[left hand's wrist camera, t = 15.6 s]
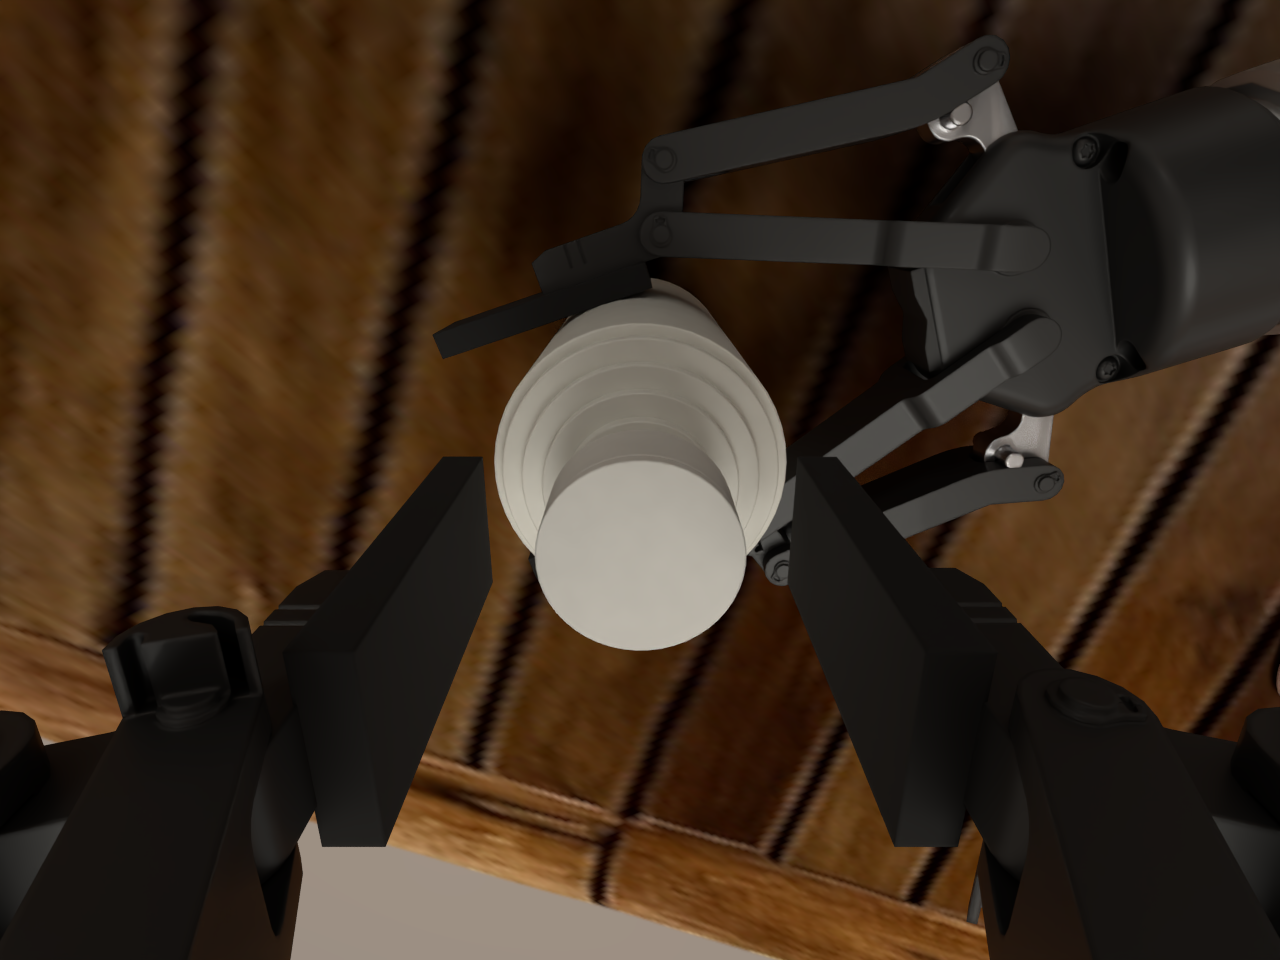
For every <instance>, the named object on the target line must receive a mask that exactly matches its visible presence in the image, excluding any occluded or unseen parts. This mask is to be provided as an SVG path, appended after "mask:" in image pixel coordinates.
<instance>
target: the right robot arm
mask: <svg viewBox="0 0 1280 960" xmlns="http://www.w3.org/2000/svg"><path fill="white" fill-rule="evenodd" d="M1009 60H1010V54H1009V48H1008V46H1007V45H1006V43H1005V42H1004V40H1003V39H1001V38H999V37H998V36H996V35H985V36H983V37H980V38H978V39H976V40H974V41H972V42H970V43H968V44H967V45H965V46H963V47H961V48H959V49H957V50H955V51H953V52H952V53H950V54H948V55H946V56H944V57H942V58H940V59H939V60H937V61H936V62H934V63H932V64H931V65H929V66H928V67H926V68H925V69H923V70H922V71H920V72H919V73H917V74H915V75H914V76H912V77H911V78H909V79H908V80H903V81H899V82H894V83H890V84H886V85H881V86H877V87H872V88H868V89H864V90H859V91H855V92H850V93H846V94H841V95H837V96H833V97H828V98H824V99H819V100H815V101H810V102H806V103H802V104H797V105H793V106H788V107H784V108H779V109H775V110H771V111H766V112H762V113H757V114H753V115H749V116H744V117H740V118H735V119H731V120H726V121H722V122H718V123H713V124H709V125H704V126H700V127H695V128H691V129H687V130H682V131H678V132H673V133H669V134H665V135H660V136H658V137H656V138H653V139H651V141H650V142H649V143H648V144H647V145H646V146H645V149H644V152H643V154H642V169H641V198H640V204H639V206H638V209H637V211H636V212H635V214H634V215H633V217H631V218H630V219H629V220H628V221H626V222H624V223H622V224H620V225H617V226H614V227H611V228H608V229H606V230H603V231H600V232H597V233H594V234H591V235H589V236H586V237H583V238H580V239H577V240H574V241H571V242H569V243H566V244H563V245H560V246H557V247H554V248H552V249H549V250H546V251H544V252H543V253H542V254H541V255H540V256H539V257H538V258H537V259H536V260H535V261H534V262H532V265H533V268H534V271H535V274H536V276H537V279H538V282H539V284H540V287H541V290H542V292H541V293H538V294H535V295H532V296H529V297H526V298H524V299H521V300H518V301H515V302H512V303H509V304H506V305H503V306H500V307H497V308H494V309H492V310H489V311H486V312H483V313H480V314H477V315H474V316H471V317H468V318H465V319H463V320H460V321H457V322H454V323H453V324H451V325H449V326H447V327H445V328H444V329H442V330H440V331H438V332H437V333H435V334H433V337H434V339H435V342H436V344H437V346H438V349H439V351H440V353H441V356H442V358H443V359H445V358H448V357H451V356H454V355H457V354H459V353H462V352H465V351H468V350H471V349H474V348H477V347H480V346H483V345H486V344H489V343H492V342H495V341H498V340H501V339H504V338H507V337H510V336H513V335H516V334H519V333H521V332H524V331H527V330H530V329H533V328H536V327H539V326H542V325H545V324H548V323H551V322H554V321H557V320H560V319H563V318H566V317H569V316H572V315H575V314H578V313H580V312H583V311H586V310H589V309H592V308H595V307H598V306H601V305H603V304H607V303H610V302H613V301H616V300H619V299H622V298H625V297H628V296H631V295H634V294H637V293H639V292H642V291H645V290H648V289H651V288H652V282H651V278H650V275H649V272H648V269H647V265H646V262H647V261H650V260H653V259H655V258H658V257H680V258H706V259H731V260H757V261H782V262H807V263H833V264H858V265H879V266H888V271H889V276H890V281H891V286H892V291H893V292H894V294H895V296H896V298H897V300H898V302H899V304H900V306H901V308H902V310H903V314H904V315H903V329H902V341H903V346H904V351H905V357H903V358H902V359H901V360H899V361H898V362H896V363H895V364H894V365H892V366H891V367H890V368H888V369H887V370H886V371H885V372H884V373H883V374H882V375H881V377H880V379H879V381H878V382H877V383H876V384H875V385H874V386H872V387H871V388H869V389H868V390H867V391H865V392H864V393H863V394H861V395H860V396H858V397H857V398H856V399H854V400H853V401H851V402H850V403H849V404H847V405H846V406H845V407H843V408H842V409H840V410H839V411H838V412H836V413H835V414H833V415H832V416H831V417H829V418H828V419H826V420H825V421H824V422H822V423H821V424H820V425H818V426H817V427H815V428H814V429H813V430H811V431H810V432H808V433H807V434H806V435H804V436H803V437H802V438H800V439H799V440H797V441H796V442H795V443H793V444H792V445H790V446H789V447H788V448H786V461H787V463H786V475H785V483H784V487H783V492H782V496H781V500H780V502H779V505H778V508H777V510H776V513H775V515H774V517H773V519H772V521H771V523H770V525H769V527H768V529H767V530H766V532H765V533H764V535H763V536H762V537H761V539H760V540H759V542H758V543H757V545H756V546H755V547H754V548H753V549H752V550H751V551H750V552H749V553H748V554H747V555H749V556H752V557H753V558H754V559H755V560H756V562H757V563H758V564H759V565H760V566H761V568H762V569H763V570H764V572H765V575H766V577H767V578H768V580H769V581H770V582H771V583H773V584H775V585H780V586H784V585H788V582H787V581H788V568H789V556H790V544H791V531H792V519H793V507H794V494H795V482H796V470H797V457H837V458H838V459H839V460H840V461H841V463H842V464H843V465H844V466H845V467H846V469H847V470H848V471H849V472H850V473H851V475H852V476H853V477H855V476H857V475H858V474H860V473H861V472H862V471H864V470H865V469H867V468H868V467H870V466H871V465H873V464H874V463H875V462H877V461H878V460H880V459H881V458H883V457H884V456H886V455H887V454H888V453H890V452H891V451H893V450H894V449H896V448H897V447H898V446H900V445H901V444H903V443H904V442H906V441H907V440H909V439H910V438H911V437H913V436H914V435H916V434H917V433H919V432H920V431H922V430H924V429H927V428H935V427H938V426H940V425H942V424H944V423H946V422H948V421H949V420H950V419H952V418H953V417H955V416H956V415H958V414H959V413H961V412H962V411H964V410H965V409H966V408H968V407H969V406H971V405H972V404H974V403H975V402H977V401H978V400H980V401H983V402H987V403H990V404H993V405H996V406H999V407H1002V408H1005V409H1008V414H1007V416H1006V418H1005V420H1004V421H1003V422H1002V423H1001V424H1000V425H998V426H996V427H994V428H991V429H989V430H986V431H983V432H979V433H977V434H976V435H975V436H974V438H973V446H965V447H960V448H956V449H951V450H948V451H945V452H942V453H939V454H936V455H934V456H931V457H929V458H926V459H924V460H922V461H919V462H917V463H914V464H912V465H910V466H907V467H905V468H902V469H900V470H897V471H895V472H893V473H890V474H888V475H885V476H883V477H881V478H878V479H876V480H873V481H871V482H868V483H866V484H864V485H861V487H862V488H863V489H864V490H865V492H866V493H867V494H868V495H869V496H870V498H871V499H872V500H873V501H874V503H875V504H876V505H877V506H878V507H879V509H880V510H881V511H882V512H883V513H884V515H885V516H886V517H887V518H888V519H889V521H890V522H891V523H892V524H893V526H894V527H895V528H896V529H897V530H898V532H899V533H900V534H901V535H902V536H903V538H904V539H905V538H907V537H910V536H912V535H915V534H917V533H920V532H922V531H925V530H927V529H930V528H932V527H935V526H937V525H940V524H942V523H945V522H948V521H950V520H953V519H955V518H958V517H960V516H963V515H965V514H968V513H970V512H973V511H975V510H978V509H980V508H983V507H985V506H988V505H991V504H1004V503H1016V502H1029V501H1042V500H1046V499H1050V498H1052V497H1053V496H1055V495H1057V493H1058V492H1059V491H1060V490H1061V489H1062V486H1063V483H1064V475H1063V473H1062V472H1061V470H1060V469H1059V468H1057V467H1055V466H1054V465H1052V464H1050V463H1049V462H1048V457H1049V449H1050V441H1051V432H1052V424H1053V416H1054V415H1055V414H1057V413H1059V412H1061V411H1063V410H1065V409H1066V408H1068V407H1069V406H1070V405H1071V404H1072V403H1074V402H1075V401H1076V400H1077V399H1078V398H1079V397H1081V396H1082V395H1083V394H1085V393H1086V392H1088V391H1089V390H1091V389H1093V388H1095V387H1097V386H1099V385H1102V384H1106V383H1110V382H1115V381H1120V380H1124V379H1129V378H1133V377H1137V376H1141V375H1145V374H1148V373H1151V372H1154V371H1158V370H1161V369H1164V368H1168V367H1171V366H1174V365H1178V364H1181V363H1184V362H1187V361H1191V360H1194V359H1197V358H1201V357H1204V356H1207V355H1211V354H1214V353H1217V352H1220V351H1224V350H1227V349H1230V348H1234V347H1237V346H1240V345H1243V344H1246V343H1249V342H1252V341H1254V340H1256V339H1258V338H1260V337H1262V336H1263V335H1271V334H1280V59H1277V60H1274V61H1271V62H1268V63H1265V64H1262V65H1259V66H1256V67H1253V68H1250V69H1247V70H1244V71H1242V72H1239V73H1236V74H1234V75H1231V76H1229V77H1226V78H1224V79H1221V80H1219V81H1217V82H1215V83H1214V84H1213V85H1211V86H1204V87H1197V88H1192V89H1189V90H1186V91H1183V92H1180V93H1177V94H1174V95H1171V96H1168V97H1165V98H1162V99H1159V100H1156V101H1153V102H1150V103H1147V104H1145V105H1142V106H1139V107H1136V108H1133V109H1130V110H1127V111H1124V112H1121V113H1118V114H1115V115H1112V116H1109V117H1106V118H1103V119H1101V120H1098V121H1095V122H1092V123H1089V124H1086V125H1083V126H1080V127H1077V128H1074V129H1071V130H1068V131H1065V132H1062V133H1059V134H1044V133H1040V132H1036V131H1031V130H1019V131H1018V130H1017V127H1016V125H1015V122H1014V119H1013V117H1012V114H1011V112H1010V109H1009V106H1008V104H1007V101H1006V99H1005V96H1004V94H1003V91H1002V88H1001V86H1000V83H999V80H1000V79H1001V78H1002V77H1003V76H1004V74H1005V72H1006V70H1007V68H1008V65H1009ZM913 128H916V129H917V131H918V133H919V135H920V137H921V138H922V139H923V140H924V141H925V142H927V143H930V144H940V143H944V142H948V141H959V142H962V143H963V144H964V145H965V146H967V148H968V150H969V151H970V154H969V155H968V156H967V157H966V159H965V160H964V161H963V162H962V164H961V165H960V166H959V167H958V169H957V170H956V171H955V172H954V173H953V175H952V176H951V177H950V178H949V180H948V181H947V182H946V183H945V185H944V186H943V187H942V188H941V190H940V191H939V192H938V193H937V195H936V196H935V197H934V198H933V200H932V201H931V202H930V203H929V205H928V206H927V207H926V208H925V209H924V211H923V212H922V213H921V214H920V216H919V217H918V218H917V219H916V221H891V220H864V219H839V218H814V217H789V216H764V215H739V214H714V213H689V212H683V193H684V183H685V182H689V181H694V180H698V179H703V178H707V177H712V176H716V175H721V174H725V173H730V172H734V171H739V170H744V169H748V168H753V167H757V166H762V165H766V164H771V163H775V162H780V161H784V160H789V159H793V158H798V157H802V156H807V155H811V154H816V153H820V152H825V151H830V150H834V149H839V148H843V147H848V146H852V145H857V144H861V143H866V142H870V141H875V140H878V139H882V138H885V137H889V136H892V135H895V134H898V133H901V132H904V131H907V130H910V129H913ZM529 562H530V564H531V566H532V569H533V571H534V573H535V576H536V578H538V576H537V571H536V565H535V556H534V554H533V553H532V552H531V553H530V556H529Z"/></svg>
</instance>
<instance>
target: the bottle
mask: <svg viewBox="0 0 1280 960" xmlns="http://www.w3.org/2000/svg"><path fill="white" fill-rule="evenodd" d="M651 282H652V288H651V289H648V290H645V291H642V292H639V293H637V294H634V295H631V296H628V297H625V298H622V299H619V300H616V301H613V302H610V303H607V304H603V305H601V306H598V307H595V308H592V309H589V310H586V311H583V312H580V313H578V314H575V315H572V316H569V317H568V318H567V319H566V321H565V322H564V323H563V325H562V326H561V327H560V329H559V330H558V332H557V333H556V334H555V336H554V337H553V338H552V340H551V341H550V343H549V344H548V345H547V347H546V348H545V349H544V351H543V352H542V354H541V355H540V356H539V358H538V359H537V360H536V362H535V363H534V365H533V366H532V367H531V369H530V370H529V371H528V373H527V374H526V376H525V377H524V378H523V380H522V381H521V382H520V384H519V385H518V387H517V388H516V389H515V391H514V393H513V395H512V396H511V398H510V400H509V402H508V404H507V406H506V408H505V411H504V414H503V416H502V419H501V422H500V425H499V429H498V434H497V439H496V445H495V459H494V462H495V476H496V483H497V487H498V492H499V497H500V499H501V502H502V505H503V508H504V511H505V513H506V515H507V517H508V519H509V521H510V523H511V525H512V527H513V529H514V530H515V532H516V533H517V535H518V536H519V538H520V539H521V540H522V542H523V543H524V544H525V546H526V547H527V548H528V549H529V550H530V551H531V552H532V553H533V554H534V556H535V544H536V539H537V534H538V530H539V527H540V524H541V520H542V517H543V514H544V511H545V508H546V505H547V502H548V499H549V496H550V493H551V490H552V488H553V485H554V482H555V480H556V478H557V477H558V475H559V473H560V471H561V470H562V469H563V467H564V466H565V464H566V463H567V462H568V461H569V460H570V459H571V458H572V457H573V456H574V455H575V454H576V453H577V452H578V451H580V450H581V449H582V448H583V447H585V446H586V445H588V444H590V443H591V442H593V441H595V440H597V439H599V438H601V437H604V436H606V435H609V434H613V433H616V432H620V431H627V430H642V429H646V430H655V431H661V432H665V433H669V434H672V435H675V436H677V437H680V438H682V439H684V440H686V441H688V442H690V443H692V444H693V445H695V446H696V447H698V448H699V449H700V450H702V451H703V452H704V453H705V454H706V455H707V456H708V457H709V458H711V459H712V461H713V462H714V463H715V464H716V466H717V467H718V468H719V469H720V471H721V473H722V475H723V476H724V478H725V480H726V482H727V485H728V487H729V489H730V492H731V495H732V498H733V501H734V504H735V507H736V511H737V514H738V517H739V520H740V523H741V526H742V529H743V533H744V537H745V543H746V555H747V554H748V553H749V552H750V551H751V550H752V549H753V548H754V547H755V546H756V545H757V543H758V542H759V540H760V539H761V537H762V536H763V535H764V533H765V532H766V530H767V529H768V527H769V525H770V523H771V521H772V519H773V517H774V515H775V513H776V510H777V508H778V505H779V502H780V500H781V496H782V492H783V487H784V483H785V475H786V463H787V461H786V444H785V439H784V434H783V429H782V425H781V422H780V419H779V416H778V413H777V411H776V408H775V406H774V404H773V402H772V400H771V398H770V396H769V394H768V392H767V391H766V389H765V388H764V387H763V385H762V384H761V382H760V381H759V380H758V378H757V377H756V375H755V374H754V373H753V371H752V370H751V369H750V367H749V366H748V364H747V363H746V362H745V360H744V359H743V358H742V356H741V355H740V354H739V352H738V351H737V349H736V348H735V347H734V345H733V344H732V343H731V341H730V340H729V339H728V337H727V336H726V334H725V333H724V332H723V330H722V329H721V328H720V326H719V325H718V324H717V322H716V321H715V319H714V318H713V317H712V315H711V314H710V313H709V311H708V310H707V309H706V307H705V306H704V305H703V304H702V303H701V302H700V301H699V300H698V299H697V298H695V297H694V296H693V295H692V294H690V293H689V292H687V291H686V290H684V289H683V288H681V287H679V286H677V285H675V284H672V283H670V282H667V281H663V280H660V279H654V278H651Z"/></svg>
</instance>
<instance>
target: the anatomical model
mask: <svg viewBox="0 0 1280 960" xmlns="http://www.w3.org/2000/svg"><path fill="white" fill-rule="evenodd" d="M1276 686H1277V690H1278V693H1279V695H1280V666H1279V669H1278V672H1277V682H1276Z"/></svg>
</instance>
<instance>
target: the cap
mask: <svg viewBox="0 0 1280 960" xmlns="http://www.w3.org/2000/svg"><path fill="white" fill-rule="evenodd" d="M535 565H536V571H537V576H538V580H539V583H540V585H541V588H542V591H543V593H544V594H545V596H546V598H547V600H548V602H549V603H550V605H551V606H552V607H553V609H554V610H555V611H556V613H557V614H558V615H559V616H560V617H561V618H562V619H563V620H564V621H565V622H566V623H567V624H568V625H570V626H571V627H572V628H573V629H575V630H576V631H578V632H579V633H581V634H582V635H584V636H586V637H588V638H590V639H592V640H594V641H596V642H598V643H601V644H604V645H607V646H611V647H615V648H620V649H627V650H654V649H662V648H666V647H670V646H674V645H677V644H680V643H682V642H685V641H688V640H689V639H691V638H693V637H695V636H697V635H699V634H701V633H702V632H704V631H705V630H707V629H708V628H709V627H710V626H712V625H713V624H714V623H715V622H716V621H717V620H719V618H720V617H721V616H722V615H723V614H724V613H725V612H726V611H727V609H728V608H729V606H730V605H731V603H732V602H733V600H734V599H735V597H736V595H737V593H738V591H739V589H740V586H741V583H742V580H743V577H744V572H745V567H746V543H745V537H744V533H743V529H742V526H741V523H740V520H739V517H738V514H737V511H736V507H735V504H734V501H733V498H732V495H731V492H730V489H729V487H728V485H727V482H726V480H725V478H724V476H723V475H722V473H721V471H720V469H719V468H718V467H717V466H716V464H715V463H714V462H713V461H712V459H711V458H709V457H708V456H707V455H706V454H705V453H704V452H703V451H702V450H700V449H699V448H698V447H696V446H695V445H693V444H692V443H690V442H688V441H686V440H684V439H682V438H680V437H677V436H675V435H672V434H669V433H665V432H661V431H655V430H646V429H642V430H627V431H620V432H616V433H613V434H609V435H606V436H604V437H601V438H599V439H597V440H595V441H593V442H591V443H590V444H588V445H586V446H585V447H583V448H582V449H581V450H580V451H578V452H577V453H576V454H575V455H574V456H573V457H572V458H571V459H570V460H569V461H568V462H567V463H566V464H565V466H564V467H563V469H562V470H561V471H560V473H559V475H558V477H557V478H556V480H555V482H554V485H553V488H552V490H551V493H550V496H549V499H548V502H547V505H546V508H545V511H544V514H543V517H542V520H541V524H540V527H539V530H538V534H537V539H536V544H535Z"/></svg>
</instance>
